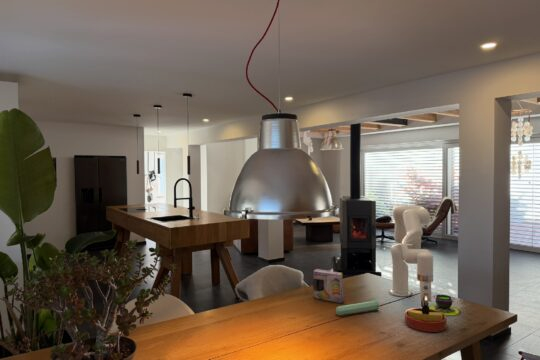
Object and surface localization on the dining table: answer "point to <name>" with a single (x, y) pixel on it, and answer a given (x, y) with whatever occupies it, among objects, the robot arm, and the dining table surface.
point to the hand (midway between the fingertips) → (424, 310)
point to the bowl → (425, 322)
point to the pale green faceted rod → (357, 308)
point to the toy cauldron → (444, 305)
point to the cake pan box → (328, 285)
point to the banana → (426, 316)
